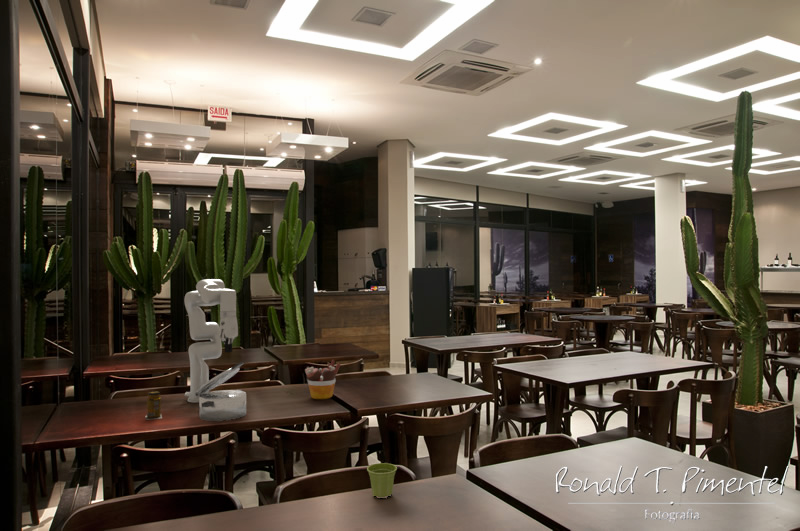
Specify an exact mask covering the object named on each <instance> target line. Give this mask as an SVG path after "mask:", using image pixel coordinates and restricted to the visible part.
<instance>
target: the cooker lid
mask: <svg viewBox="0 0 800 531" xmlns="http://www.w3.org/2000/svg"><path fill="white" fill-rule="evenodd" d="M244 364H245V362H244V361H241V362H238V363H235V365H233V366H232V367H231V368H229V369H226V370H224V371H223V372H221V373H218V374H217V375H216V376H214V377H212V378H211V379H209V381H208V382H206V383H205V384H204V385H202V386H201V387H200V388H199V389H198V390H197V393H196V394H195V395H196V396H198V395H200V394H203V393H205V392H207V391H209V392H210V391H212V390H214V389H215V388H217V387H219V386H221V385H222V384H224V383H225V382H227V381H228V380H230V379H231V378H232V377H234V376H235V375H236V374H237V373H238V372H239V371H240V368H241V367H242V366H243V365H244Z"/></svg>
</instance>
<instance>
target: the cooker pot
mask: <svg viewBox="0 0 800 531" xmlns="http://www.w3.org/2000/svg"><path fill="white" fill-rule="evenodd" d="M198 405H199V414H198V415H199V419H200V420H203V421H209V422H224V421H223V420H226V421H232V420H231V419H233V420H236V418H237V419H241V418H243V417H245V416H246V415H247V392H246V391H243V389H238V388H237V389H229V390H228V389H225V390H224V389H223V390H214V391H209V392H208V393H204V394H202V395H200V396H199V404H198ZM240 417H241V418H240Z"/></svg>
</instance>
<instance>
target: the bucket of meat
mask: <svg viewBox="0 0 800 531" xmlns="http://www.w3.org/2000/svg"><path fill="white" fill-rule="evenodd" d="M335 362H336V361H335V360H334V359H331V363H330V362H329V363H328V364H327V367H324V368H321V367H320V368H318V367H317V368H316V367H314V366H311V367H308V368H305V369H304V372H305V374H306V375H305V376H306V381H307V384H308V389H309V390H308V391H309V394H310V396H311V399H314V400H328V399H330V398H332V397H333V396H334V389H335V385H336V381H337V380H336V379H337V378H336V376H337V374H338V371H339V369H340V367H341V363H340V362H338V363H337V364H336V365H335Z"/></svg>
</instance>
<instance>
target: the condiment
mask: <svg viewBox="0 0 800 531" xmlns="http://www.w3.org/2000/svg"><path fill="white" fill-rule="evenodd" d="M160 396H161V393H160V391H149V392H148V393H147V399H146V401H147V402H146V409H147V410H146V415H145V420H148V421H149V420H158V419H159V420H160V419H163V416H162V413H161V410H162V409H161V403H162V400H161V399H162V398H161V397H160Z"/></svg>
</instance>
